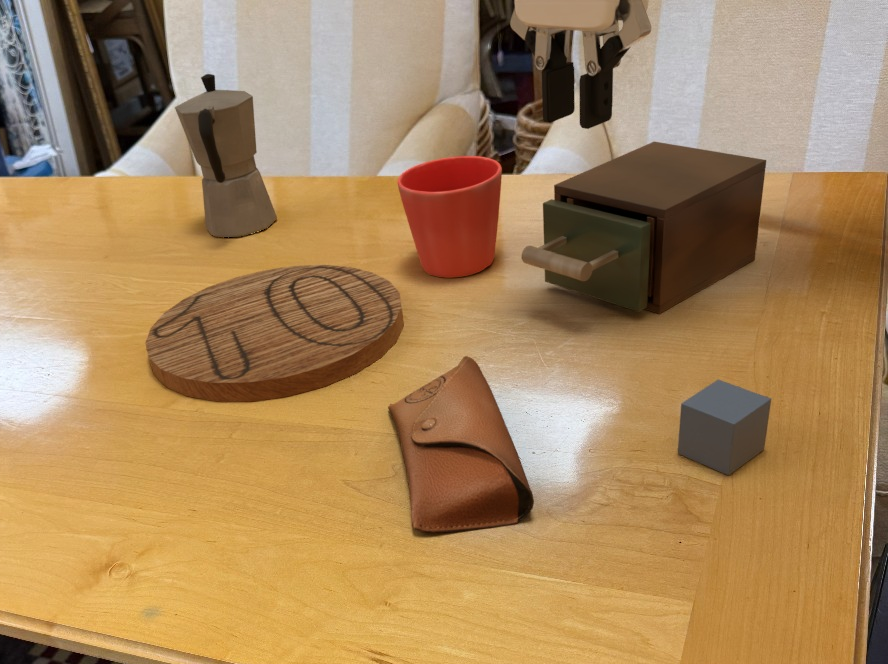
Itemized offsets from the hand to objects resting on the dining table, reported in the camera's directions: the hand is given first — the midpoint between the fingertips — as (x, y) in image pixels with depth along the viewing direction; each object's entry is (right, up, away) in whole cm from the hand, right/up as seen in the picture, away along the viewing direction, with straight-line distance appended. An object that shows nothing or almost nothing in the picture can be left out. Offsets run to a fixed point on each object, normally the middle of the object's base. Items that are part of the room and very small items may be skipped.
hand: (577, 118), depth 75 cm
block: (+8, -28, -10) cm, 31 cm away
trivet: (-26, -15, +15) cm, 34 cm away
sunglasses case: (-11, -28, -6) cm, 31 cm away
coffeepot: (-34, +3, +41) cm, 53 cm away
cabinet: (+11, -9, +15) cm, 20 cm away
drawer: (+7, -10, +12) cm, 17 cm away
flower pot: (-8, -6, +23) cm, 25 cm away
